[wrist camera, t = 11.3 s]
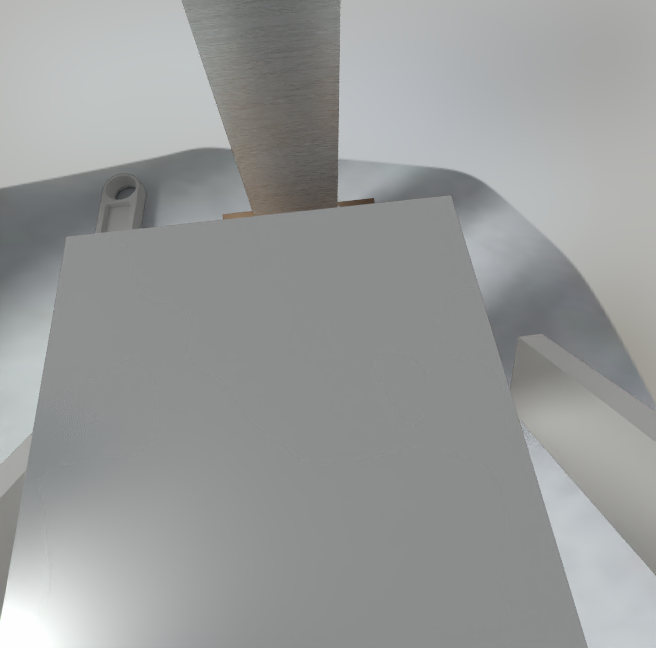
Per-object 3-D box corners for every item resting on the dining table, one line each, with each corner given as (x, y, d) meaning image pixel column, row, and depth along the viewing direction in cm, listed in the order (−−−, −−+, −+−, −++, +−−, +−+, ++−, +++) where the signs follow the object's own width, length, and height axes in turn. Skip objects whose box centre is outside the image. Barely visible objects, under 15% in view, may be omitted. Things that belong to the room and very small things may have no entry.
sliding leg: (278, 507, 16) (-233, 1029, 2) (271, 400, 18) (-2, 179, 3) (419, 489, 16) (1129, 806, 2) (399, 385, 18) (675, 109, 4)
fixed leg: (266, 299, 20) (79, -122, 5) (262, 229, 22) (111, -238, 7) (379, 287, 21) (502, -156, 6) (365, 218, 22) (433, -262, 7)
